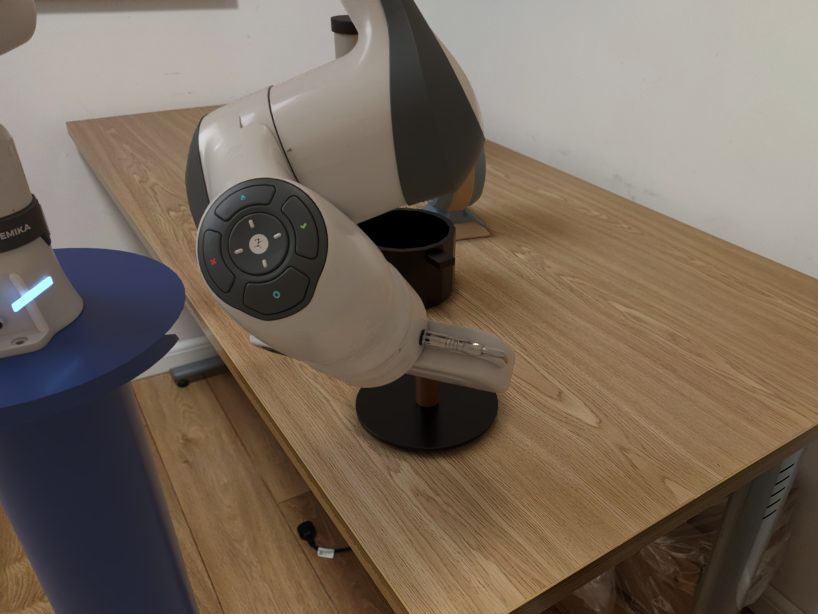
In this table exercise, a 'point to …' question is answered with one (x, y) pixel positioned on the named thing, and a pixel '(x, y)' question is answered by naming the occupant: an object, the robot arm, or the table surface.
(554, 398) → the table surface
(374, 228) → the pot
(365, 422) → the lid
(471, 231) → the alarm clock
